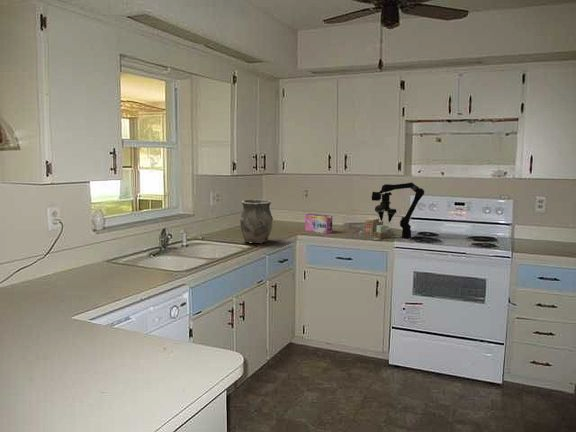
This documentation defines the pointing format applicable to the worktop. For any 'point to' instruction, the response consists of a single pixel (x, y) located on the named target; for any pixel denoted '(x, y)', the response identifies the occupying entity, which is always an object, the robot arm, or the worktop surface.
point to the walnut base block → (381, 235)
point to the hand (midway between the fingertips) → (385, 221)
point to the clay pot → (256, 220)
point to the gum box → (318, 223)
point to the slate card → (375, 239)
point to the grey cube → (389, 231)
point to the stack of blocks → (372, 225)
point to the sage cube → (381, 229)
